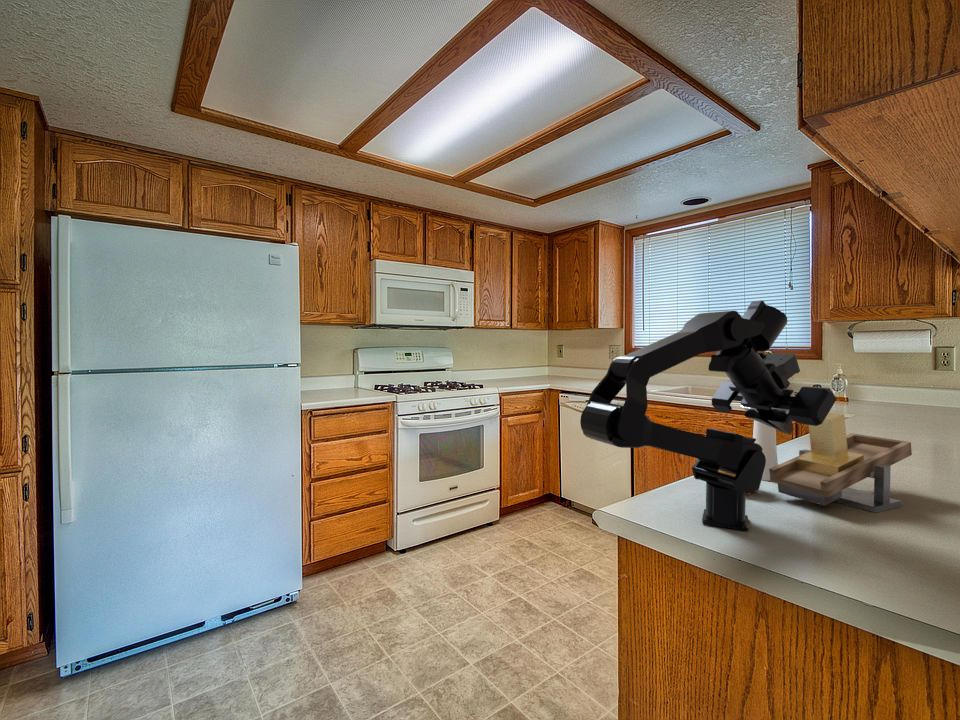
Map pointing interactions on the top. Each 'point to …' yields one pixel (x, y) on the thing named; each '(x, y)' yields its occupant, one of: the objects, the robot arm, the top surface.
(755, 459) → the robot arm
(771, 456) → the cosmetic bottle
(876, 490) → the beam stand
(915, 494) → the top surface
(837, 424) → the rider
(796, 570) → the top surface
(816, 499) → the beam
